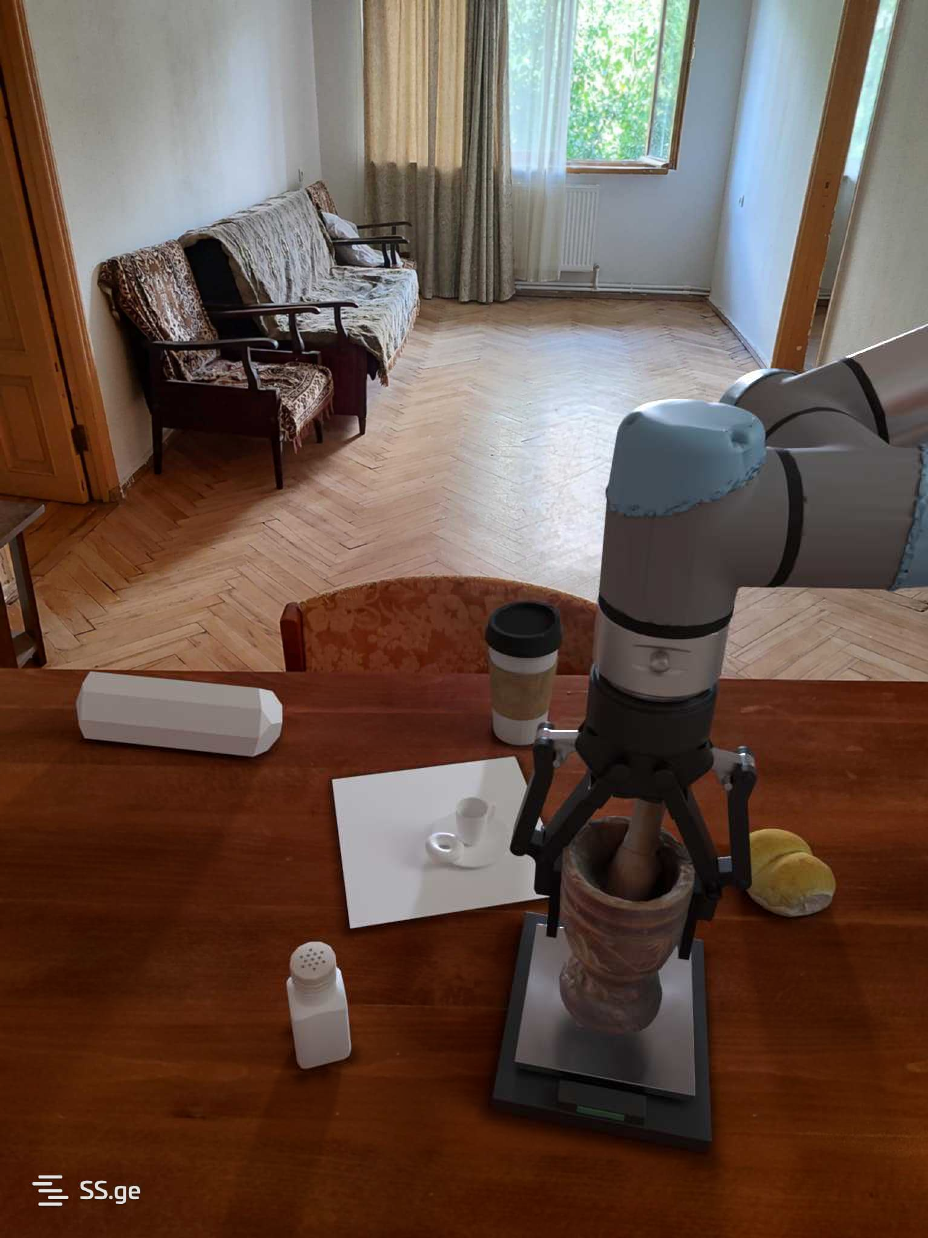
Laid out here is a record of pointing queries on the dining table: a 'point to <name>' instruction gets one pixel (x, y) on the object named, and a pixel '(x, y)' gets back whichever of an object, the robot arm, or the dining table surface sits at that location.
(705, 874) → the robot arm
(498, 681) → the coffee cup
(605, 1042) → the scale pan
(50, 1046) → the dining table surface
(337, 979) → the salt shaker
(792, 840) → the bread roll
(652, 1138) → the scale
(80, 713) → the crystal
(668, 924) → the mortar and pestle
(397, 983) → the dining table surface
